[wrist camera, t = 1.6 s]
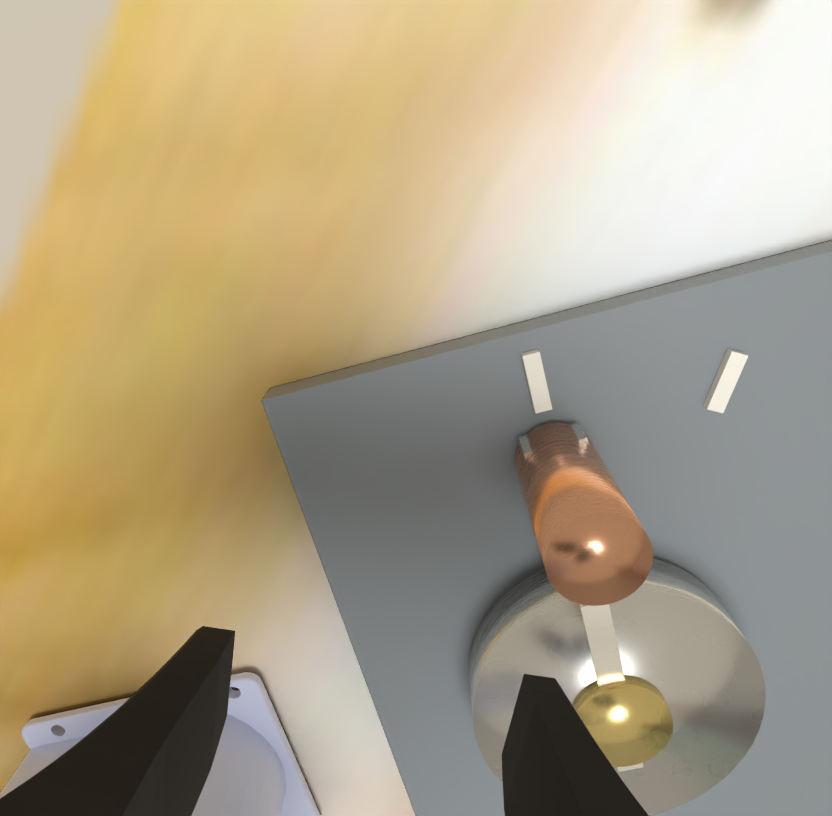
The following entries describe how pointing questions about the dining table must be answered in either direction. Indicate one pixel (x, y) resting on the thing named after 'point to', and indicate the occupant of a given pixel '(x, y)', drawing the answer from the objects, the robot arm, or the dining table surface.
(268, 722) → the robot arm
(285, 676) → the dining table surface
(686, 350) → the board
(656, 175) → the dining table surface
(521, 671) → the dial
